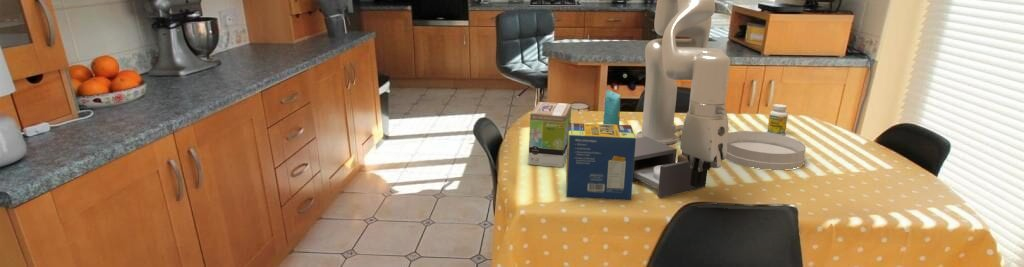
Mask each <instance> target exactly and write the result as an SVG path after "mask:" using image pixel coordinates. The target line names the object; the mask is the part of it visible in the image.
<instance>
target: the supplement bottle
mask: <svg viewBox="0 0 1024 267" xmlns="http://www.w3.org/2000/svg"><path fill="white" fill-rule="evenodd" d="M788 117H789V114H788V112H787V105H785V104H777V103H776V104H772V110H771V111H770V112H769V117H768V122H767V124H768V125H767V131H766V132H767V133H773V134H779V135H783V136H786V130H787V123H788Z"/></svg>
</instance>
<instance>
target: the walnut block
mask: <svg viewBox="0 0 1024 267" xmlns="http://www.w3.org/2000/svg"><path fill="white" fill-rule="evenodd" d="M687 160H688V159H687V158H686V157H684V156H683V155H682V153H681V154H677V156H676V163H677V162H682V161H687Z"/></svg>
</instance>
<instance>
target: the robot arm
mask: <svg viewBox="0 0 1024 267" xmlns="http://www.w3.org/2000/svg"><path fill="white" fill-rule="evenodd" d="M715 12H716V1H715V0H656V8H655V13H654V14H655V15H654V21H653V22H654V23H653V24H654V25H653V26H654V31H655V33H656V34H657V35H658V36H662V38H656V39H652V40H650V41H649V42H647V44H646V46H645V50H644V58H645V59H644V60H645V86H644V87H645V88H644V97H643V98H644V101H643V111H642V112H643V113H642V125H641V126H642V127H641V131H639V132H636V136H635V138H641V137H648V138H650V139H653V140H655V141H658V142H661V143H663V144H666V145H671V144H672V145H673V144H675V143H676V142H677V141H678V136H677V135H676V133H677V132H681V135H680V136H681V137H680V151H681V154H682V155H683V156H684V157H686V158H687V159H688V161H689V163H690V168H691V169H692V173H691V182H690V185H691V186H694V187H696V188H697V187H701V186H705V183H706V184H707V179H706V175H707V176H708V171H710V170H711V169H718V168H722V161H723V160H726V159H725V158H726V154H727V142H728V133H729V132H728V130H729V129H728V128H729V126H728V127H727V119H726V118H725V117H724V115H726V114H727V115H728V109H726V99H727V92H728V84H729V77H730V76H729V74H730V69H731V68H730V67H731V58H730V57H729V56H728V55H727V54H725V51H723V49H721V48H715V47H708V45H709V44H708V43H709V38H710V33H711V28H712V17H713V15H714V14H715ZM678 80H679V81H691V83H690V84H691V87H690V95H689V105H688V111H687V112H686V115H685V118H684V120H683V124H679V125H676V124H674V123H675V113H676V112H675V111H676V105H677V104H676V102H677V93H678V92H677V91H678V83H677V81H678ZM705 162H706V163H705Z"/></svg>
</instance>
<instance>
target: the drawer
mask: <svg viewBox="0 0 1024 267" xmlns="http://www.w3.org/2000/svg"><path fill="white" fill-rule="evenodd" d="M705 163H706V162H705ZM653 171H654V167H650V168H645V169H640V170H635V171H634V176H633V177H634V178H636V179H638V180H640V182H643V183H644V184H647V185H649V186H650V187H652V188H654V189H657V192H658V193H657V197H658V198H659V199H663V198H668V197H672V196H676V195H680V194H683V193H684V194H685V193H688V192H692V191H697V190H700V189H704V188H706V187H707V182H706V183H705V186H701V187H697V188H696V187H694V186H691V185H690V182H691V173H692V169H691V168H690V163H689V161H688V160H687V161H682V162H677V161H676V163H672V164H665V165H663V166H660V177H659V180H657V179H655V178H654V177H653ZM707 177H708V174H707V175H706V180H707V179H708V178H707Z"/></svg>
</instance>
